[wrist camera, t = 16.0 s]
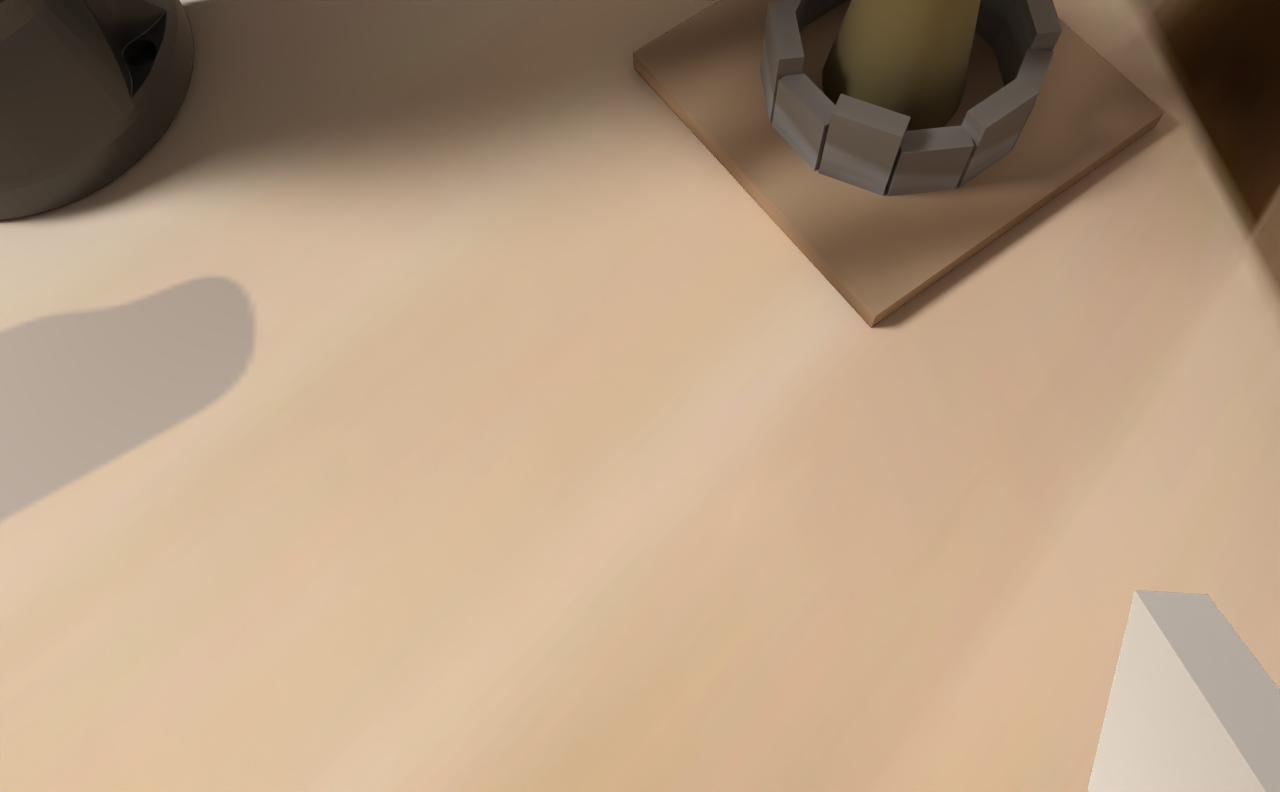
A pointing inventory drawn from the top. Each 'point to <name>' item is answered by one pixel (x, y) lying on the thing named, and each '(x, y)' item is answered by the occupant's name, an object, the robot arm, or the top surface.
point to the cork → (904, 57)
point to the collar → (893, 136)
